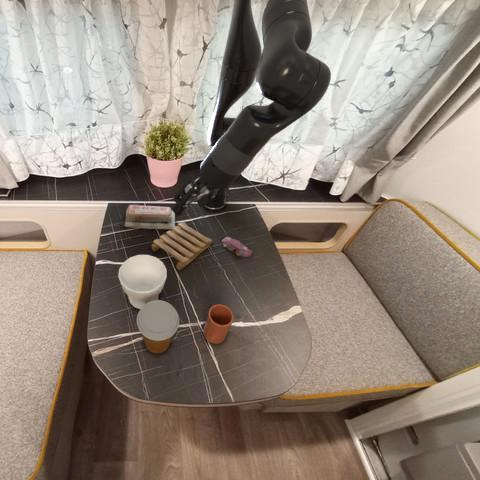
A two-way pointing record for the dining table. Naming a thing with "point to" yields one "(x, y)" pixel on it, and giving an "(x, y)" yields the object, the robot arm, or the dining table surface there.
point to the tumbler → (218, 323)
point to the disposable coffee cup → (157, 324)
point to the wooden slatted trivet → (174, 235)
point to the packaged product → (149, 217)
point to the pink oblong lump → (236, 247)
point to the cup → (142, 279)
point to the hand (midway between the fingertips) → (188, 208)
